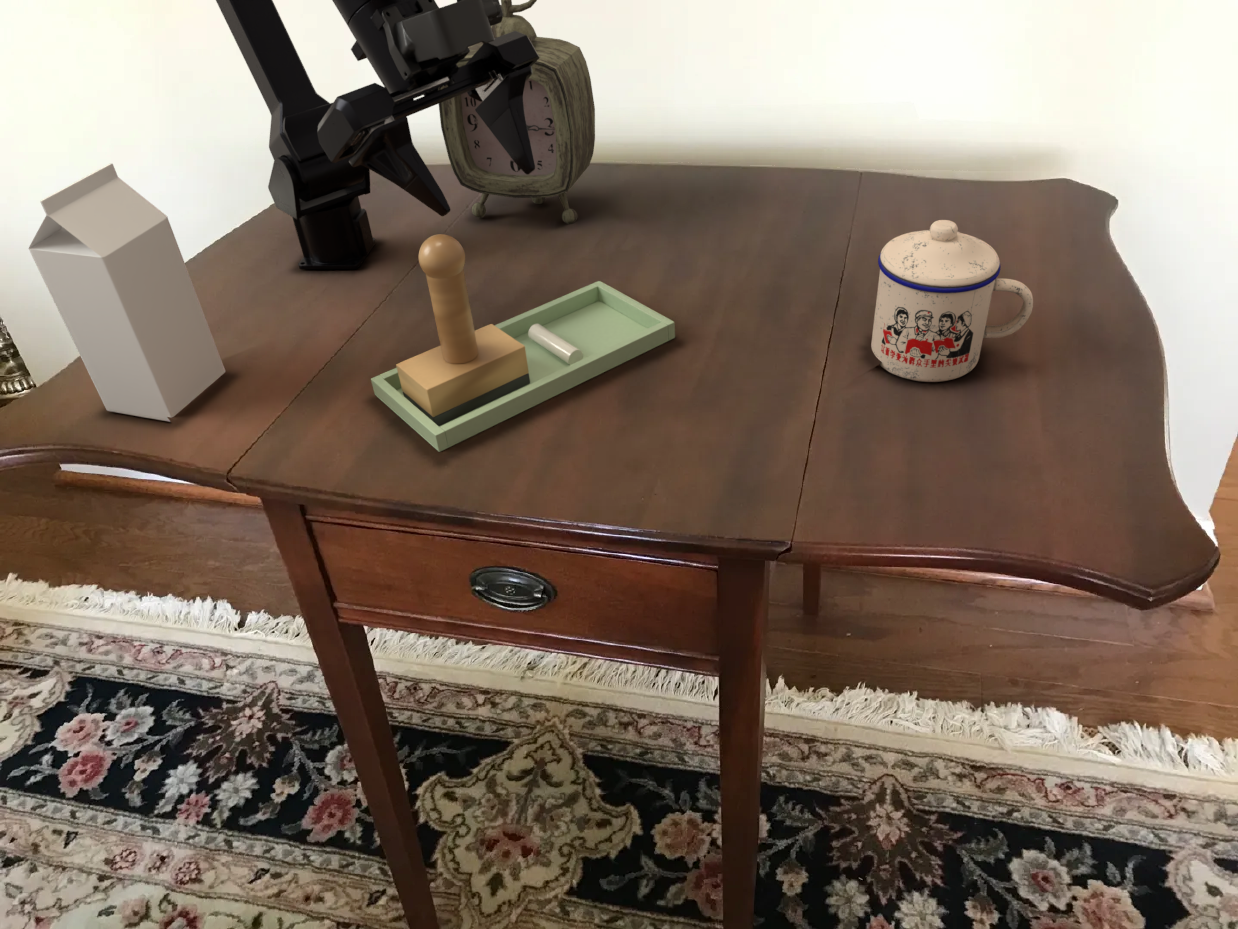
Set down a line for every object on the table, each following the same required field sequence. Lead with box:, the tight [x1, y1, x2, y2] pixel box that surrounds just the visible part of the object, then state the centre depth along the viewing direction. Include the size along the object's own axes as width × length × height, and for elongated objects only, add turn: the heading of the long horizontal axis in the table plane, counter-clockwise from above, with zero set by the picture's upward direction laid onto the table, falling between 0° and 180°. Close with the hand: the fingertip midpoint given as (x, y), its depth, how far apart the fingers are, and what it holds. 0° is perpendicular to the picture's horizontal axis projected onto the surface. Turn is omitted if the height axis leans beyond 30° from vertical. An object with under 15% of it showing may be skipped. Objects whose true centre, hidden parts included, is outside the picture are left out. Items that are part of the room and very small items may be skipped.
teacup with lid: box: [870, 219, 1034, 383], centre depth 76 cm, size 12×9×12 cm
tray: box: [370, 280, 676, 453], centre depth 81 cm, size 24×11×2 cm, turn 128°
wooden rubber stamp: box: [395, 233, 530, 426], centre depth 74 cm, size 9×5×14 cm, turn 128°
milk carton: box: [28, 163, 226, 423], centre depth 76 cm, size 7×7×19 cm
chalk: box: [528, 324, 583, 365], centre depth 82 cm, size 6×2×2 cm
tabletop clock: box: [438, 0, 596, 225], centre depth 100 cm, size 14×9×25 cm, turn 73°
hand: (490, 192), depth 76 cm, fingers open, 9 cm apart
